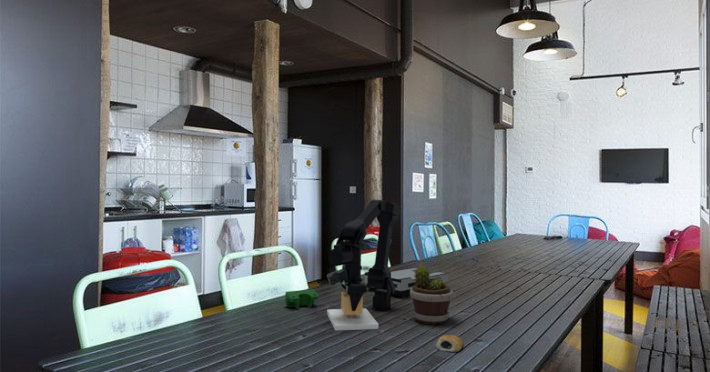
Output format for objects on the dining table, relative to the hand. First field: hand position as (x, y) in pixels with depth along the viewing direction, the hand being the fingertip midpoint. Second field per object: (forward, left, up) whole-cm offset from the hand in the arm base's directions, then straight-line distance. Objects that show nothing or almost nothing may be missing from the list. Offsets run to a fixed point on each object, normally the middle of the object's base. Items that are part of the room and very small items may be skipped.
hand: (351, 308), depth 168 cm
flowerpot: (-27, +3, -4) cm, 28 cm away
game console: (-33, -46, -5) cm, 56 cm away
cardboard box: (0, 0, -1) cm, 1 cm away
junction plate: (0, 0, -4) cm, 4 cm away
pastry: (-23, +30, -5) cm, 38 cm away
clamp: (+15, -21, -5) cm, 26 cm away
